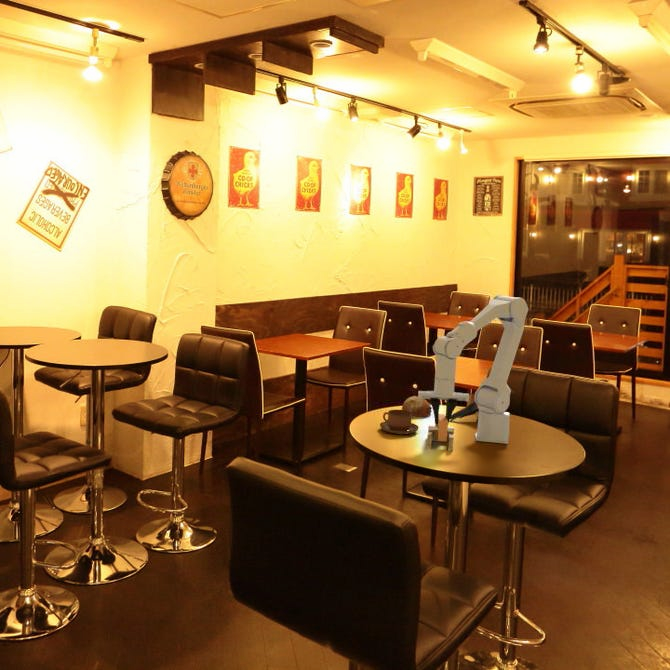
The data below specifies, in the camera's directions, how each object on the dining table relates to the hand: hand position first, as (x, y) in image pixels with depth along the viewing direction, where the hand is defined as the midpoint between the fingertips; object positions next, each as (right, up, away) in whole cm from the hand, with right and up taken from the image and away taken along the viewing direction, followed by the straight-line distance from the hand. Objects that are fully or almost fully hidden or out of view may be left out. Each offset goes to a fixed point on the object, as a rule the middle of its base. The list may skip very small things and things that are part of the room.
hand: (441, 423), depth 210 cm
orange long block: (0, -4, +1) cm, 4 cm away
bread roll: (-3, -2, +38) cm, 38 cm away
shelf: (0, -6, +2) cm, 6 cm away
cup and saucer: (-11, -4, +14) cm, 18 cm away
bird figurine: (+17, -3, +31) cm, 35 cm away
